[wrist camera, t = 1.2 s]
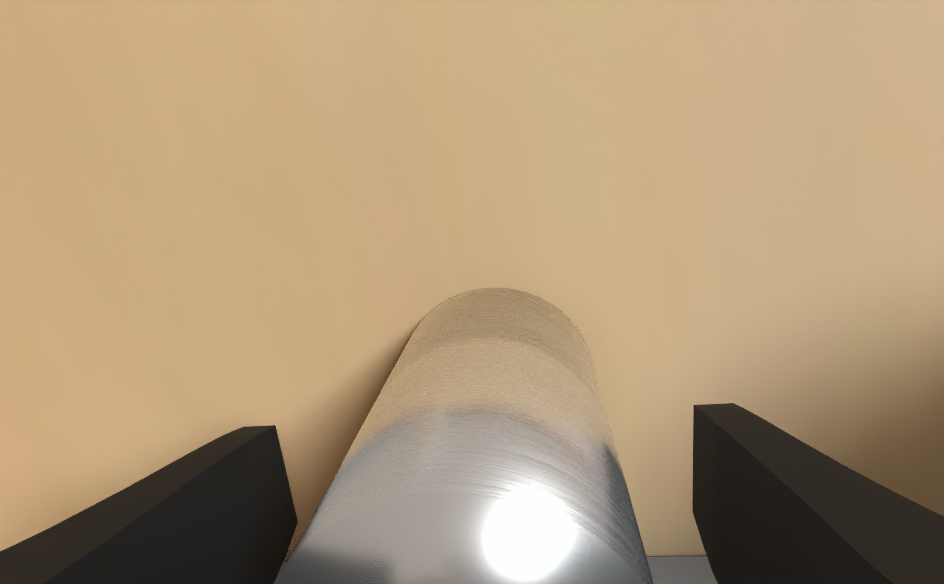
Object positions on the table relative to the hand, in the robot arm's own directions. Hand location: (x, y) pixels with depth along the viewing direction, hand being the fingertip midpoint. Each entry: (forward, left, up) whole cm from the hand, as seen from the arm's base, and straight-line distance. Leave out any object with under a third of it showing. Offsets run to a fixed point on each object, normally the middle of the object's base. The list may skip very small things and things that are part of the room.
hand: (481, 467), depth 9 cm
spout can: (0, 0, -3) cm, 3 cm away
